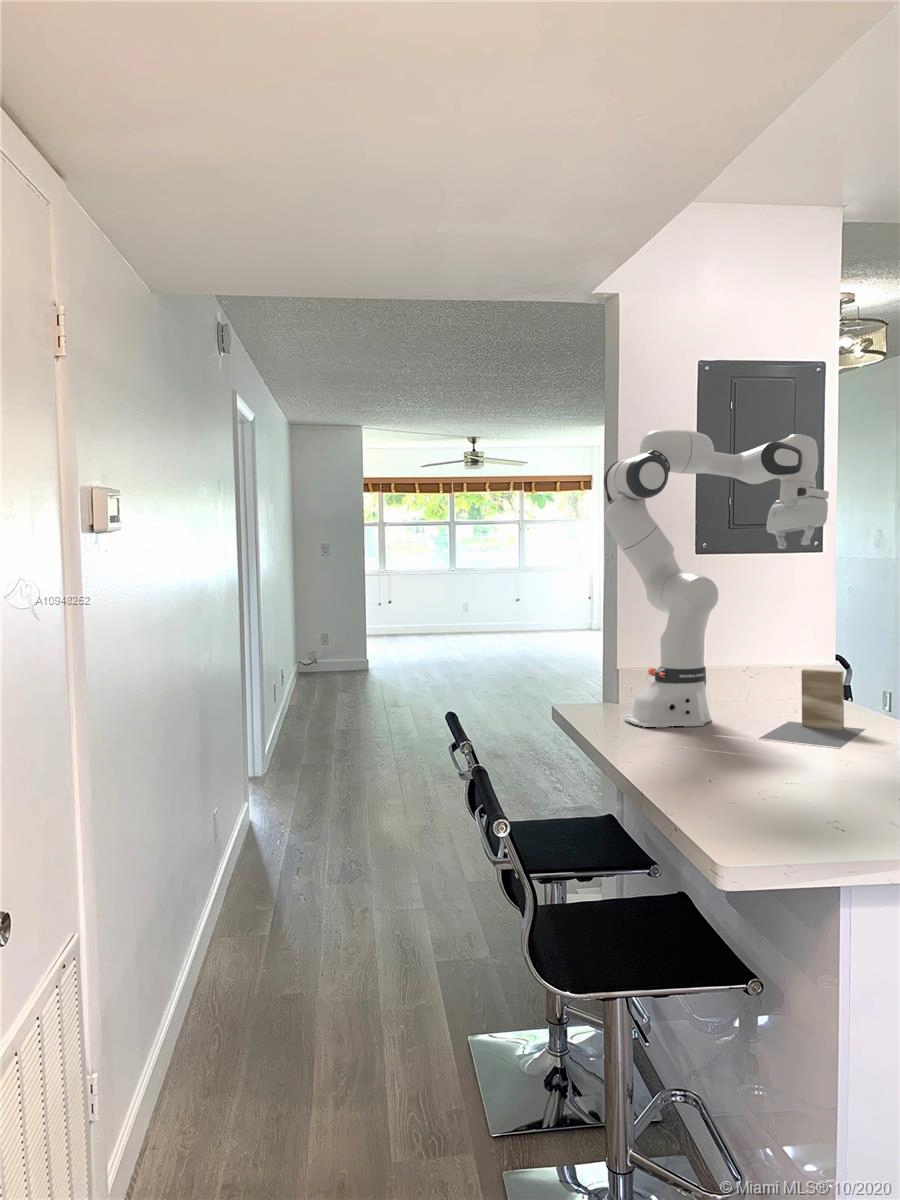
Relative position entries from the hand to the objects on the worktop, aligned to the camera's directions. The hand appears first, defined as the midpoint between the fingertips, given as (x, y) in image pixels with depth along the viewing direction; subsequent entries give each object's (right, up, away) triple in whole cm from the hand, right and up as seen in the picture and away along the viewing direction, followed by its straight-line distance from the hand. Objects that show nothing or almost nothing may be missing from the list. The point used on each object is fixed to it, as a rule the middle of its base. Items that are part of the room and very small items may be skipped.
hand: (793, 546), depth 225 cm
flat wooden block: (-1, -46, -19) cm, 49 cm away
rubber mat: (-6, -47, -25) cm, 53 cm away
